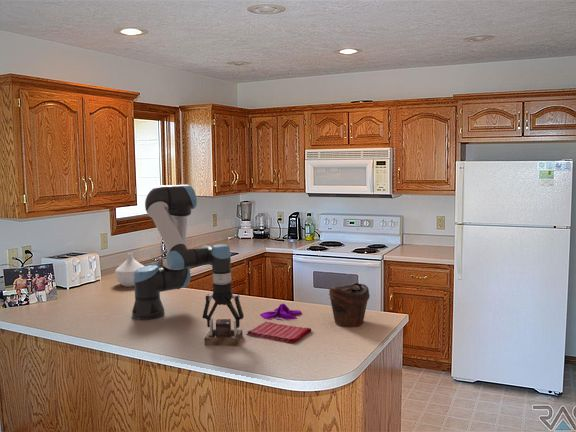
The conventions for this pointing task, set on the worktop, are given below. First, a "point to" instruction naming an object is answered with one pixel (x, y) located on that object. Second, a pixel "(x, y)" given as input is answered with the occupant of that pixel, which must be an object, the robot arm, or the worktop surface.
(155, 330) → the worktop surface
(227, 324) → the box
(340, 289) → the dark brown lidded bucket
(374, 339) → the worktop surface
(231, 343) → the brown wooden shallow tray
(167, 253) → the robot arm
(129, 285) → the vase
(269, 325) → the dish towel
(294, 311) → the cloth
